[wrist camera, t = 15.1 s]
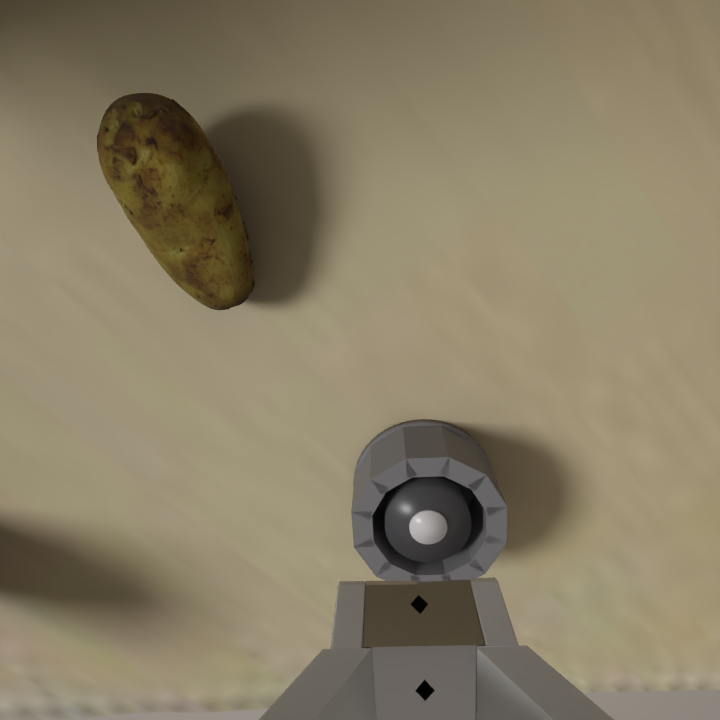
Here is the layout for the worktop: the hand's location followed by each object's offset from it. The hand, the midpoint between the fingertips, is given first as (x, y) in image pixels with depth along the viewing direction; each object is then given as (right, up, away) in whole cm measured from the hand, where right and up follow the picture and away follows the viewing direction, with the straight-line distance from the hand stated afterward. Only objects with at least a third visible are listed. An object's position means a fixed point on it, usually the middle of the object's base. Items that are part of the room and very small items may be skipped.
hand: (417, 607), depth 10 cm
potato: (-12, +15, +26) cm, 33 cm away
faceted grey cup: (+4, -5, +32) cm, 32 cm away
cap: (+4, -5, +31) cm, 31 cm away
